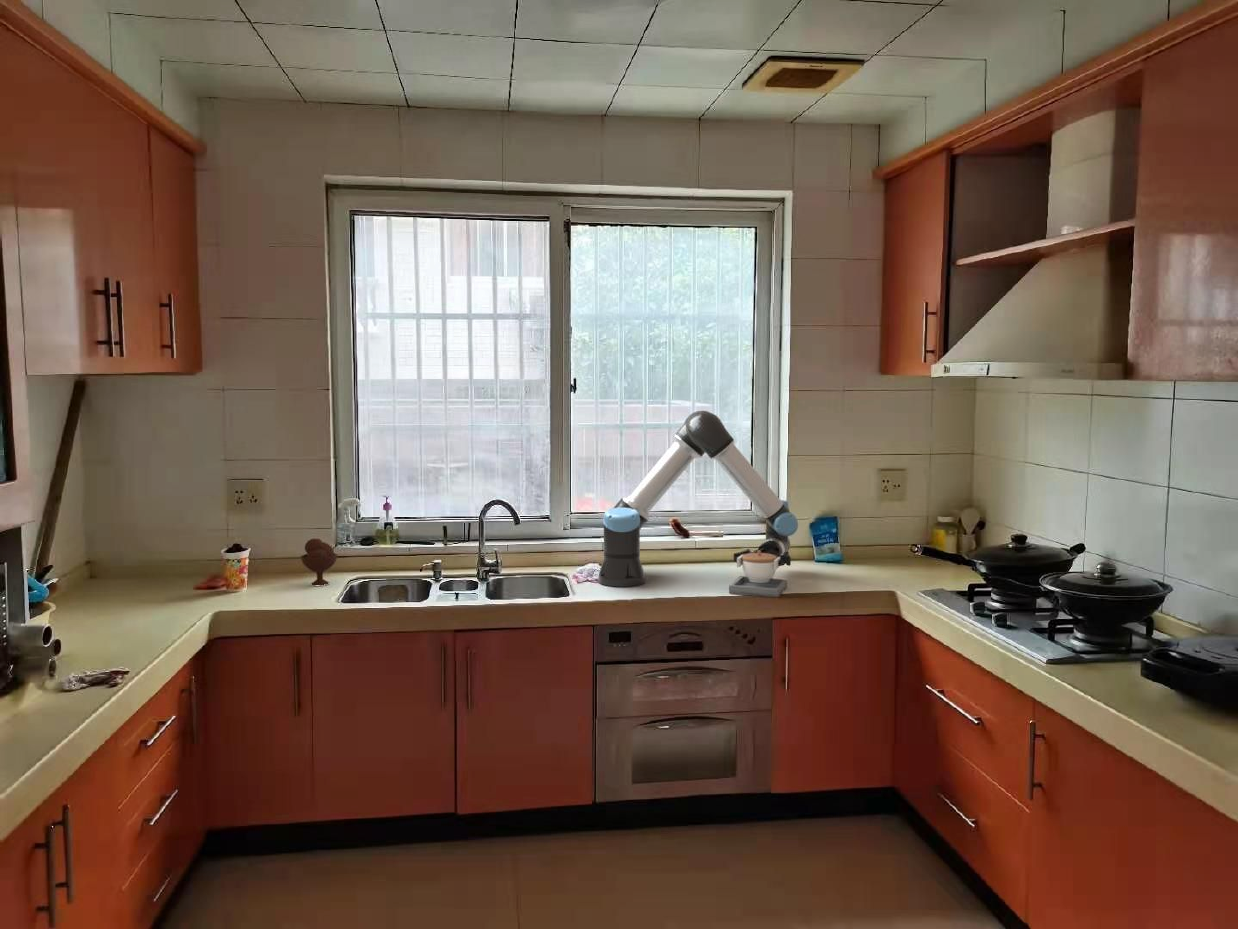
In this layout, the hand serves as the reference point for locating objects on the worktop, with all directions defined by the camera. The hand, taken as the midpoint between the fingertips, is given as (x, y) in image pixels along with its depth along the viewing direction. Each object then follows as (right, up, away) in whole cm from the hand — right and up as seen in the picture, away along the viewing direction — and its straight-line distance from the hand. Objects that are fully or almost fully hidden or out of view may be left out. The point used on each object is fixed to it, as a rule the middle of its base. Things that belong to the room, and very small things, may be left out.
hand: (756, 564), depth 272 cm
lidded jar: (+2, -6, +4) cm, 7 cm away
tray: (+1, -9, +5) cm, 10 cm away
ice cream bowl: (-138, -8, +13) cm, 139 cm away
